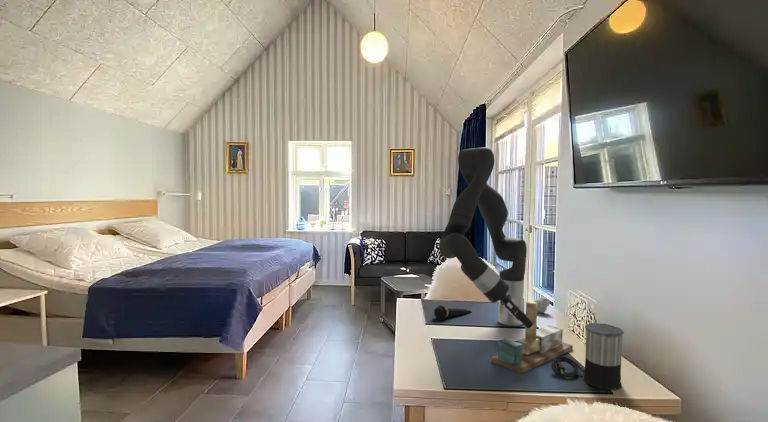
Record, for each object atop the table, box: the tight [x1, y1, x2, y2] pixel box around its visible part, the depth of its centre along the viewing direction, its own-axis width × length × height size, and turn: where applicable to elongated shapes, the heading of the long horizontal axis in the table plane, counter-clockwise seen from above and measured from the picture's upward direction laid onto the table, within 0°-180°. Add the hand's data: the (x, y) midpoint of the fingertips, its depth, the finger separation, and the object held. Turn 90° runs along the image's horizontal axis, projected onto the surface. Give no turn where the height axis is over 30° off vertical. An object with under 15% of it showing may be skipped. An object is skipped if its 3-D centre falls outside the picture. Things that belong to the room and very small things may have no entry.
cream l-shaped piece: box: [517, 301, 541, 355], centre depth 130 cm, size 18×3×15 cm, turn 128°
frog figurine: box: [532, 296, 551, 314], centre depth 175 cm, size 6×7×7 cm
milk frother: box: [550, 322, 625, 391], centre depth 113 cm, size 14×16×15 cm
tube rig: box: [491, 325, 574, 374], centre depth 129 cm, size 29×10×7 cm, turn 128°
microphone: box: [433, 305, 473, 321], centre depth 170 cm, size 6×6×20 cm
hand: (527, 321), depth 127 cm, fingers open, 8 cm apart
